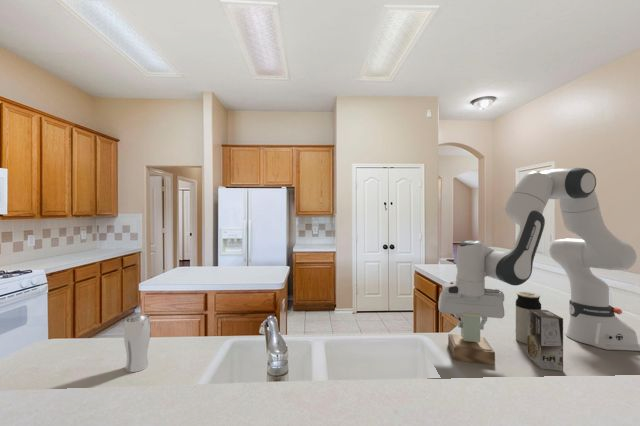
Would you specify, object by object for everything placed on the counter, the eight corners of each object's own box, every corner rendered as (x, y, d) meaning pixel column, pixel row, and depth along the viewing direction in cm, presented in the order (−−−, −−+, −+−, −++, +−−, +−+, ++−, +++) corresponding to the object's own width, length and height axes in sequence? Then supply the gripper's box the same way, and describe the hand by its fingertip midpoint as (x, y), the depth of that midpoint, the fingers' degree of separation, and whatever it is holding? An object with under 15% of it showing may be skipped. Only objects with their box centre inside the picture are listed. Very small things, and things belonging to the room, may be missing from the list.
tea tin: (476, 336, 103) (476, 310, 103) (480, 342, 98) (480, 315, 98) (460, 334, 104) (460, 309, 104) (463, 340, 99) (463, 313, 99)
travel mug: (520, 344, 109) (519, 295, 110) (512, 336, 117) (512, 290, 117) (545, 347, 107) (545, 297, 107) (536, 338, 115) (536, 292, 115)
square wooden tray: (484, 348, 105) (484, 336, 105) (494, 365, 94) (494, 351, 94) (448, 344, 108) (448, 333, 108) (454, 359, 97) (454, 346, 97)
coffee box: (564, 371, 90) (564, 318, 90) (540, 369, 91) (540, 317, 92) (547, 357, 99) (547, 309, 99) (526, 355, 100) (526, 308, 101)
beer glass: (131, 362, 93) (132, 314, 93) (154, 361, 94) (155, 314, 94) (118, 373, 86) (119, 322, 86) (142, 373, 87) (143, 322, 87)
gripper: (501, 287, 102) (501, 327, 101) (437, 283, 107) (437, 321, 107) (507, 292, 96) (507, 334, 95) (440, 287, 101) (440, 328, 101)
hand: (470, 328), depth 101 cm, fingers closed on tea tin, 5 cm apart
